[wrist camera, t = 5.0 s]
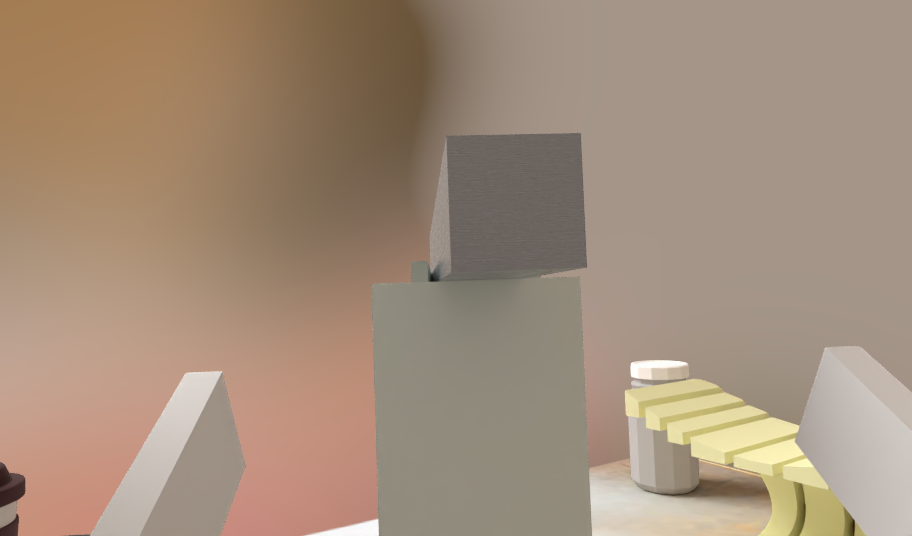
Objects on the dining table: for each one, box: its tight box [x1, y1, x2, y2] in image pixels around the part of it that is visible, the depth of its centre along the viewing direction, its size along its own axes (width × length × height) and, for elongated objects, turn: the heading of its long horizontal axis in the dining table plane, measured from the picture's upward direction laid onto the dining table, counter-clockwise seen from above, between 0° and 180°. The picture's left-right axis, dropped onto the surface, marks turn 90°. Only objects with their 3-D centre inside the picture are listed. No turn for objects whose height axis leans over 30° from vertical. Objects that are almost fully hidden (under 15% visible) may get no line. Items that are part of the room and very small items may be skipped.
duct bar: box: [430, 133, 587, 282], centre depth 32 cm, size 30×4×4 cm, turn 4°
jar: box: [628, 360, 700, 495], centre depth 88 cm, size 10×10×18 cm
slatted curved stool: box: [625, 379, 866, 536], centre depth 58 cm, size 30×16×18 cm, turn 32°
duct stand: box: [371, 261, 592, 536], centre depth 36 cm, size 16×10×31 cm, turn 2°
